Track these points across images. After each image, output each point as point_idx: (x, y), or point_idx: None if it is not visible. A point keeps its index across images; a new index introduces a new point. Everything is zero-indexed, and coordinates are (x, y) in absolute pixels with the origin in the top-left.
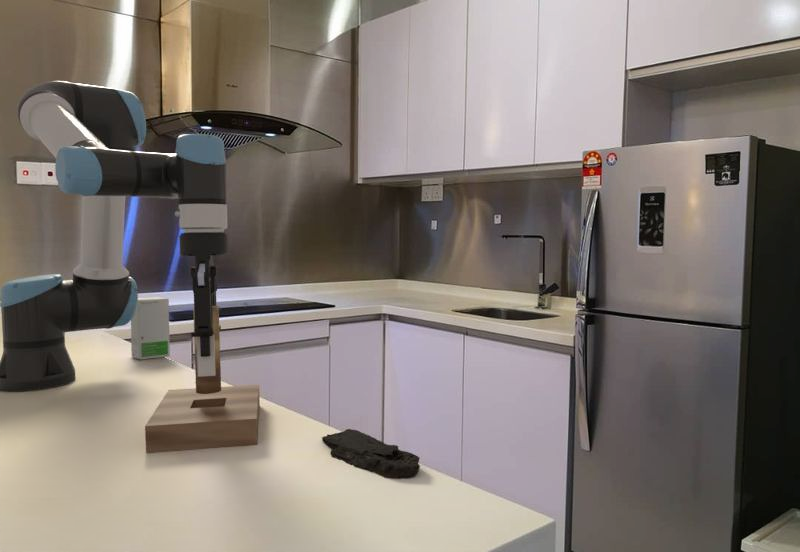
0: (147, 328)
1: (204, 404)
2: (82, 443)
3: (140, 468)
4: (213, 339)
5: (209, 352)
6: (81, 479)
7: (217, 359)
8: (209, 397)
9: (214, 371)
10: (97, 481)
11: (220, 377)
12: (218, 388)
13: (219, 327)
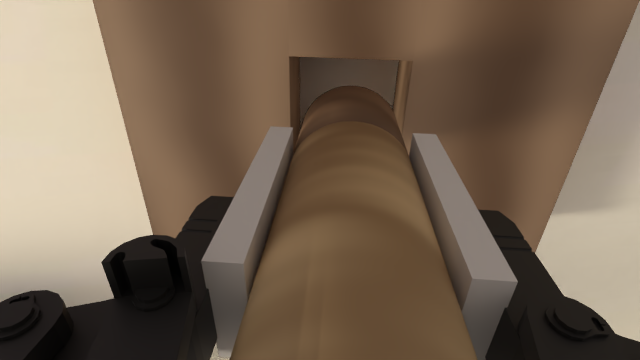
0: None
1: (293, 127)
2: None
3: (605, 218)
4: (505, 262)
5: (517, 228)
6: (600, 295)
7: (395, 154)
8: (269, 118)
9: (438, 145)
10: (630, 274)
11: (360, 104)
12: (381, 99)
13: (181, 263)
